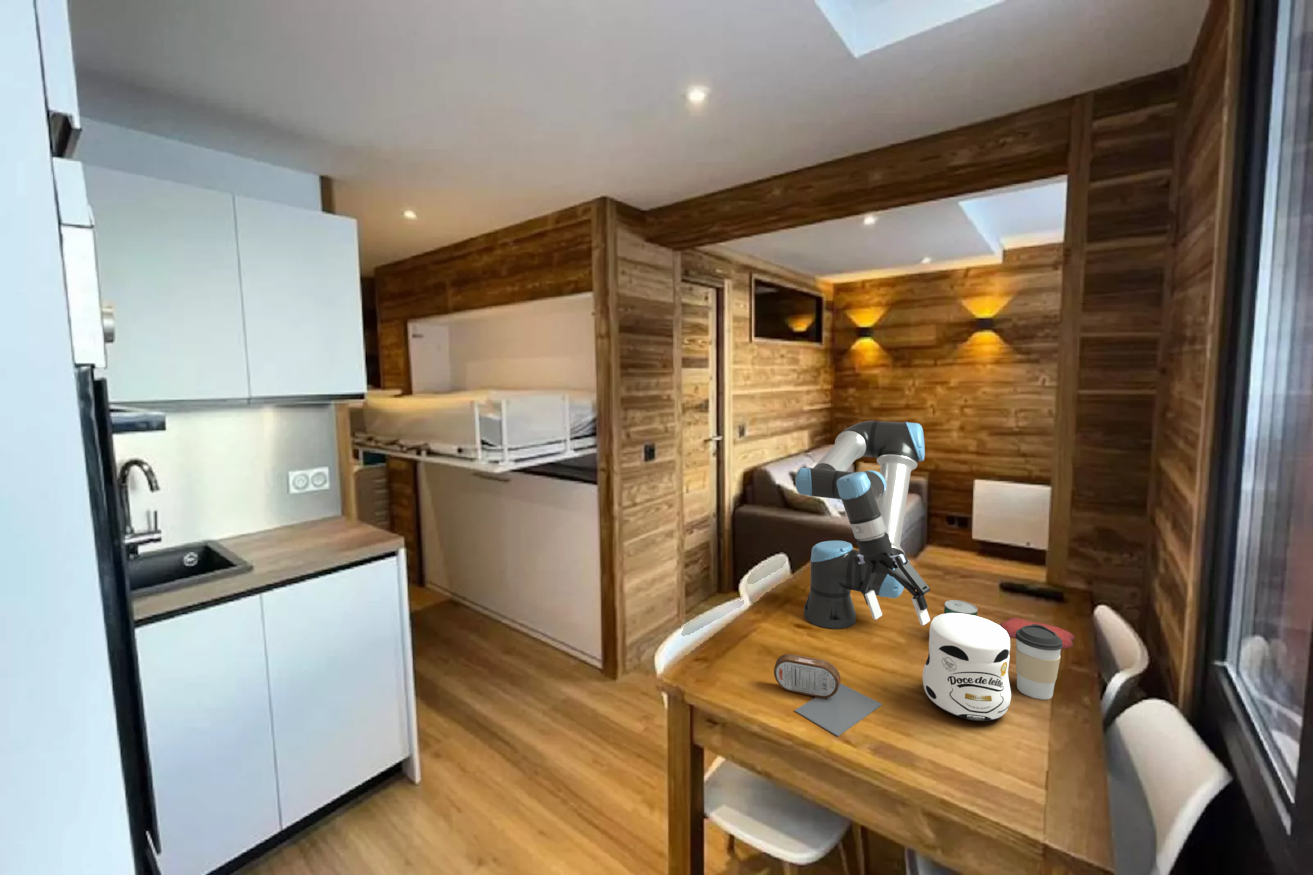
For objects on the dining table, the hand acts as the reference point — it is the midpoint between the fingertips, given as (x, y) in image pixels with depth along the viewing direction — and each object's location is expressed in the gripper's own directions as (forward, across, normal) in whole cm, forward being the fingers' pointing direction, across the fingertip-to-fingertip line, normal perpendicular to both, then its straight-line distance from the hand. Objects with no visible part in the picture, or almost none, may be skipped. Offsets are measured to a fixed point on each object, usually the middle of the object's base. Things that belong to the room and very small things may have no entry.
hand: (900, 620), depth 134 cm
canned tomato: (+19, -7, +25) cm, 33 cm away
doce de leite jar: (+19, +9, 0) cm, 21 cm away
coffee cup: (+24, +14, +19) cm, 34 cm away
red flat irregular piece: (+27, -1, +49) cm, 56 cm away
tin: (+8, -11, -26) cm, 29 cm away
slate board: (+10, -3, -24) cm, 26 cm away
